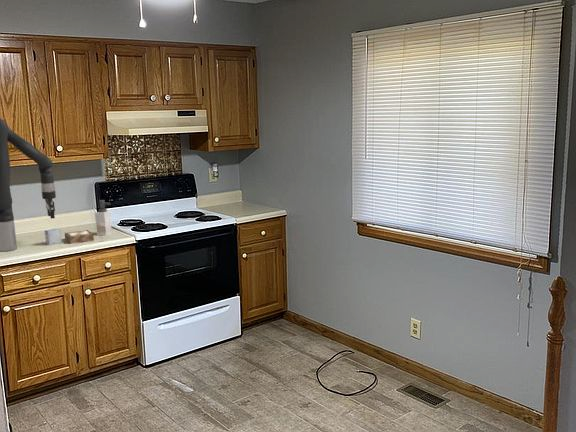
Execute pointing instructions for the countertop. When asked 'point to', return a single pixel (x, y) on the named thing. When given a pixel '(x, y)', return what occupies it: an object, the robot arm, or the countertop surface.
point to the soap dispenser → (103, 220)
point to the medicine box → (53, 236)
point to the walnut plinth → (79, 236)
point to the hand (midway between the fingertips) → (51, 217)
